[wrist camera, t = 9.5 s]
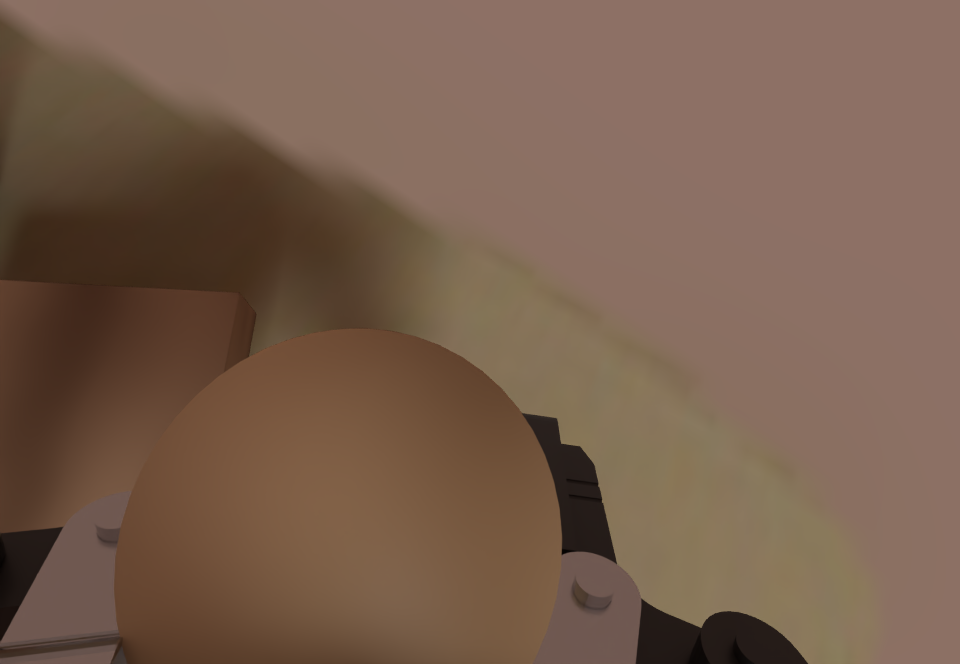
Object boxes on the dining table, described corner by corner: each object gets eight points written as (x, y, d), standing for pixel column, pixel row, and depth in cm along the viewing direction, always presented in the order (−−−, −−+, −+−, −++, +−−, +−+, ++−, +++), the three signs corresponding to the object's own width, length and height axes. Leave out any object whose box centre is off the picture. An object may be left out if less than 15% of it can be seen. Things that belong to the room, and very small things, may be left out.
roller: (310, 631, 14) (53, 801, 5) (331, 454, 16) (170, 319, 6) (485, 634, 14) (569, 802, 5) (488, 459, 16) (556, 337, 7)
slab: (-69, 579, 22) (-261, 593, 16) (14, 337, 25) (-117, 273, 19) (247, 586, 22) (178, 602, 16) (285, 350, 26) (239, 292, 20)
